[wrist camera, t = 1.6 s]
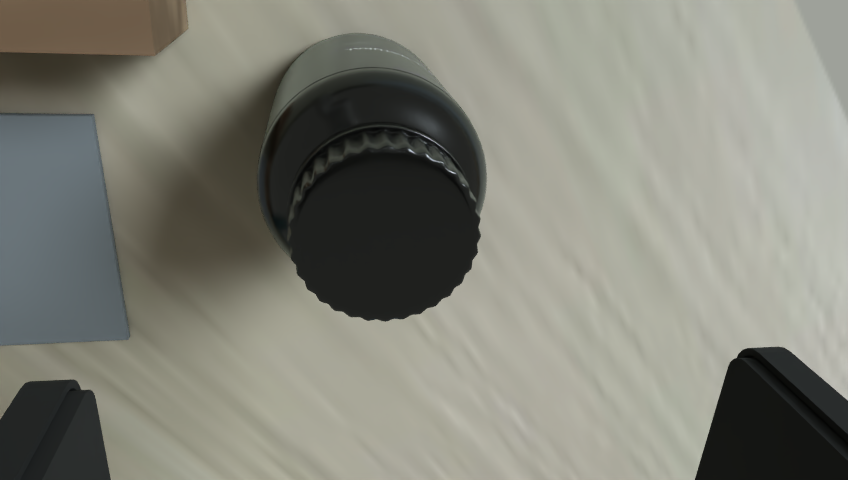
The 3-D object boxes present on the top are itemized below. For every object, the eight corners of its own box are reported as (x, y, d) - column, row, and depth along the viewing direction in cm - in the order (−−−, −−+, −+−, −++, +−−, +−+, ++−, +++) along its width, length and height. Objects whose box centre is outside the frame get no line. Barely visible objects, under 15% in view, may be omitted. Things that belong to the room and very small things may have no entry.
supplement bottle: (410, 4, 25) (489, 57, 14) (458, 163, 28) (553, 304, 17) (241, 64, 25) (194, 163, 14) (309, 216, 28) (312, 392, 17)
